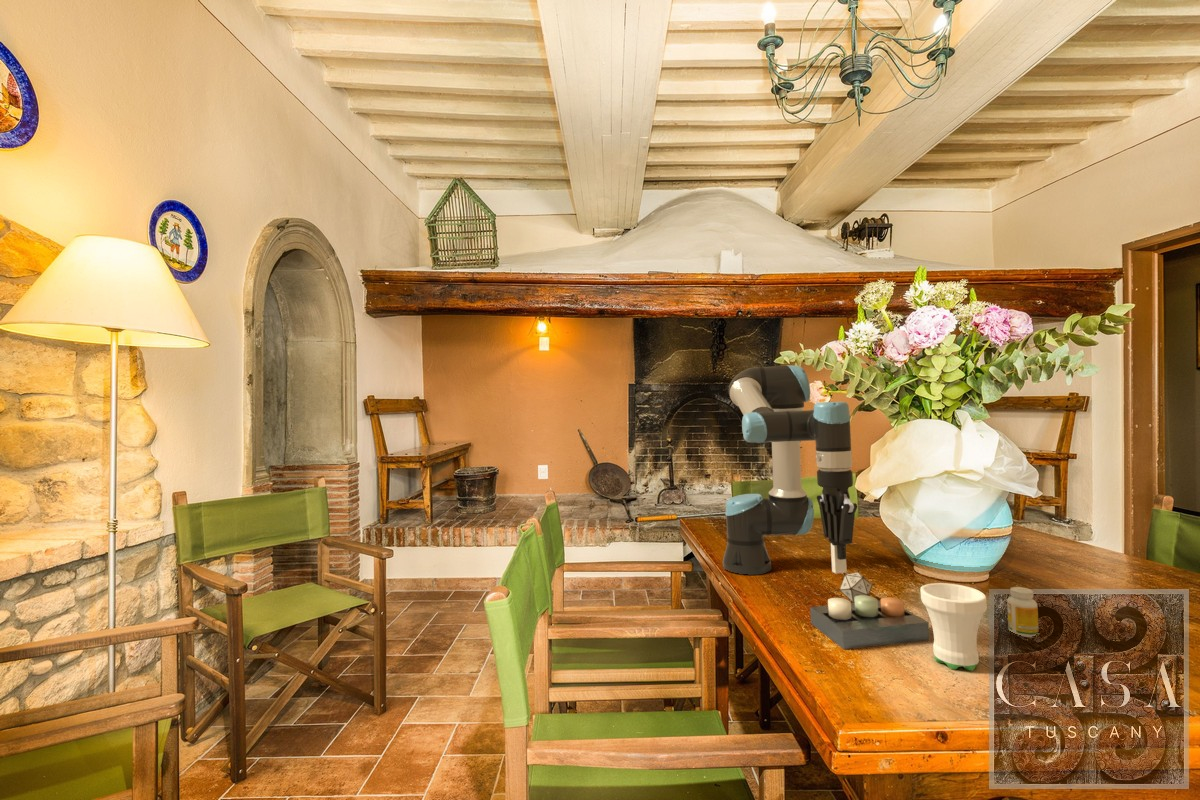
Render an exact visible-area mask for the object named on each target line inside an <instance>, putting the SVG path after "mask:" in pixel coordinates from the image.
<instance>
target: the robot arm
mask: <svg viewBox="0 0 1200 800" xmlns="http://www.w3.org/2000/svg"><path fill="white" fill-rule="evenodd" d="M797 366H798V367H797ZM728 395H729V398H730V400H731V402H732V403H733V404H734V405H735V406H737V407H738V408H739V410H740V411H741V413H742V415H743V416H742V420H741V428H742V429H741V431H742V432H741V433H742V434H743V436H742V437H743V440H744V441H745V442H746V443H756V444H763V443H771V458H772V459H771V460H772V463H771V464H772V485H773V487H772V488H771V489H770V490H769V491H768V498H764V497H763V495H762V494H760V493H744V494H739V495H735V496H732V497H730V498H728V499H727V500H726V502H725V513H724V515H725V517H726V519H725V521H726V523H725V524H726V539H727V540H726V542H727V543H726V547H725V551H724V554H723V558H722V568H723V567H724V568H725V569H727V570H729V571H732V572H735V573H739V574H738V575H743V574H748V575H747V576H749V575H751V576H754V575H763V574H766V573H769V572H770V571H771V570H772V560H771V558H770V556H769V553H768V551H767V547H766V545H765V536H797V535H798V536H799V535H806V534H809V532H810V531H811V530H812V527H813V524H814V519H815V517H814V516H815V508H814V503H813V500H812V499H811V497H808V493H807V491H806V490H804V489H803V487H802V469H801V468H802V464H801V463H802V462H801V459H802V458H801V442H806V441H815V452H816V453H815V460H816V467H817V468H818V469H817V471H816V479H817V482H816V483H817V486H819V487H821V488H822V491H821V493H822V494H821V495H816V501H817V504H818V507H819V512H820V519H821V523H822V524H821V525H822V530H823V536H824V538H826V539H828V542H829V543H830V555H831V556H830V557H831V559H830V560H831V573H834V574H835V575H836V574H837V575H838V574H843V573H845V574H846V573H847V574H848V572H847V571H848V570H847V550H846V549H847V547H846V546H847V545H850V544H853V536H854V528H855V527H854V524H855V517H856V516H855V515H856V512H857V509H858V504H857V503H856V502H854V503H853V502H852V501H851V500H850V499H851V498H850V496H851V495H850V493H849V488H851V487H852V486H854V479H853V478H854V477H853V476H854V475H853V471H852V470H851V468H853V456H852V438H851V436H852V434H851V415H850V414H851V413H850V407H849V404H848V403H847V402H846V401H823V402H816V403H814V405H813V409H809V410H806V409H805V403H807V402H808V401H809V400H811V399H810V398H811V386H810V381H809V378H808V374H807V373H806V370H805V369H804V368H803V367H802V366H801V365H790V364H789V365H787V364H786V365H775V366H774V365H773V366H754V367H750V368H746V369H744V370H741V371H740V372H739V373H737V374H736V375H735V376H734V377H733V378H732V380H730V383H729V386H728ZM804 409H805V410H804ZM724 568H723V569H724ZM725 569H724V570H725ZM735 573H734V574H735Z"/></svg>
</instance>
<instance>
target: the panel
mask: <svg viewBox="0 0 1200 800" xmlns="http://www.w3.org/2000/svg"><path fill="white" fill-rule="evenodd" d="M904 610H905V616H899V617H888V616H886V615H884V614H883V613H881V599H880V600H878V616H876V617H864V616H860V615H858V614H856V613H855V603H853V602H851V616H852V617H851V618H850V619H847V620H840V619H835V618H832V617H830V616H829V612H828V604H827V605H818V606H810V609H809V611H810V624H811V625H812V626H814V628H816V629H817V630H819V632H821V633H822V634H824V635H825V636H826V637H828V638H829V639H830V640H831V641H832V642H834V643H835V644H837V646H839V647H840V648H841V649H843V650H850V649H852V650H853V649H859V648H861V649H862V648H869V647H870V648H871V647H872V648H873V647H879V646H880V647H881V646H889V645H898V644H907V643H917V642H927V641H930V627H929V622H928V621H927V620H926V619H924V618H921V617H919V616H918V615H916V614H914V613H913V612H911V611H908V610H907V609H905V608H904Z"/></svg>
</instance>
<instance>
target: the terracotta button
mask: <svg viewBox="0 0 1200 800" xmlns="http://www.w3.org/2000/svg"><path fill="white" fill-rule="evenodd" d="M880 600H881V613H883V614H884V615H886V616H888V617H899V616H905V610H906V609H905V601H904V600H902V599H900V598H897V597H889V596H888V597H881V598H880ZM904 609H905V610H904Z"/></svg>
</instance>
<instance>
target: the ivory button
mask: <svg viewBox="0 0 1200 800" xmlns="http://www.w3.org/2000/svg"><path fill="white" fill-rule="evenodd" d="M851 603H852V601H851V600H850V599H848V598H847V599H846V598H842V597H831V598H828V599H827V605H828V612H829V616H830V617H832V618H835V619H840V620H847V619H850V618H851V617H852V616H851Z"/></svg>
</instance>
